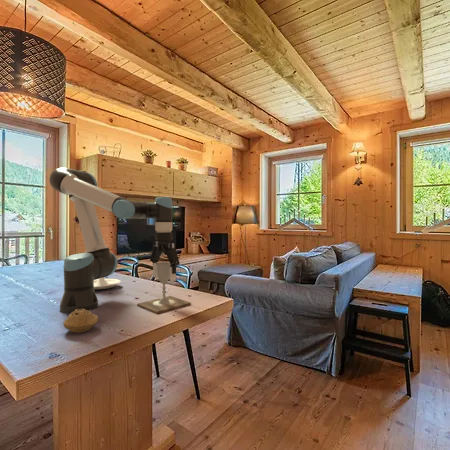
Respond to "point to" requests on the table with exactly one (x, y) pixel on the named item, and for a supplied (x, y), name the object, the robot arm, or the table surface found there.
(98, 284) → the candlestick
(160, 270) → the chalice
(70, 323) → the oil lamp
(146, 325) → the table surface
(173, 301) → the board
